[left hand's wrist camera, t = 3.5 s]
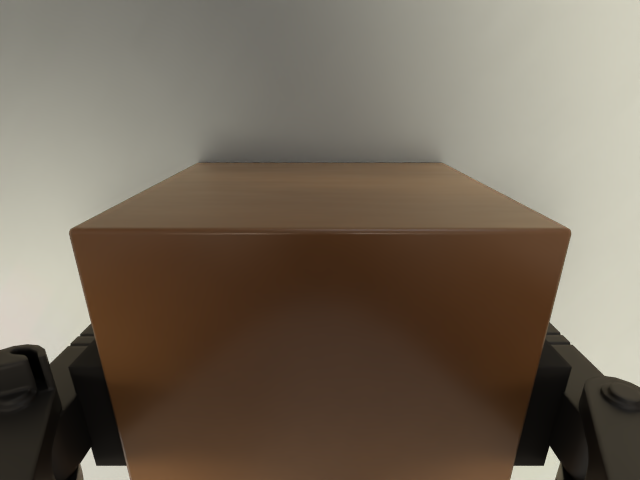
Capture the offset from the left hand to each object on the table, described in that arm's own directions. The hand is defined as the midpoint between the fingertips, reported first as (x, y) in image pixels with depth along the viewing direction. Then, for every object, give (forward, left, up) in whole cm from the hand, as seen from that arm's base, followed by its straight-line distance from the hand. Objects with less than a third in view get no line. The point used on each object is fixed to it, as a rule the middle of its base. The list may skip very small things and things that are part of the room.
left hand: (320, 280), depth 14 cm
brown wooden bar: (+33, 0, 0) cm, 33 cm away
